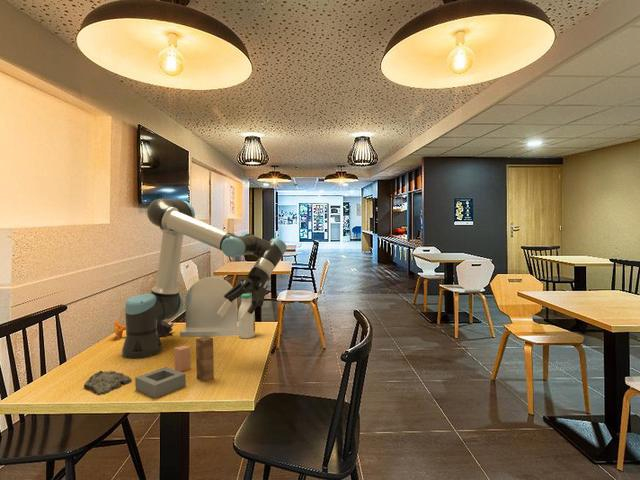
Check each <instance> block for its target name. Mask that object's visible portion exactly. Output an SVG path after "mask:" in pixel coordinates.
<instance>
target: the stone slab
mask: <svg viewBox="0 0 640 480" xmlns="http://www.w3.org/2000/svg"><path fill="white" fill-rule="evenodd" d="M132 381H133V380H132V378H130V376H129V375H125V373H122V372H117V371H114V370H109V371H105V370H104V371H102V370H99V371H97V372H95V373H93V374H92V375H91V376H90V377H89V378H88V379H87V380H86V381H85V383H84V384H83V387H84V389H86V388H87V390H90V391H91V390H92V392H94V394H96V396H102V395H101V394H103V395H107V394H109V393H110V392H111V391H115V390H117V389H119V388H121V387H122V385H123V386H126V385H128V384H130V383H131V382H132ZM114 389H115V390H114ZM106 393H107V394H106Z"/></svg>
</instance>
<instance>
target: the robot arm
mask: <svg viewBox="0 0 640 480" xmlns="http://www.w3.org/2000/svg"><path fill="white" fill-rule="evenodd" d="M194 209H195V208H194V207H193V206H192V204H191V203H189V202H188V201H187V200H183V199H178V198H177V199H176V198H157V199H154V200H153V201H151V202H150V203H149V205H148V206H147V211H146V214H147V215H146V216H147V218H148V220H149V222H150V223H152V224H153V225H154V226H156V227H159V230H160V231H161V232H162V235H161V245H160V252H159V260H158V267H157V274H156V282H155V285H154V286H153V287H152V288H151V292H150V293H142V294H137V295H134V296H131V297H129V298H128V299H127V300H126V301H125V309H124V313H125V326H126V330H125V332H126V335H125V340H124V343H123V345H122V349H121V355H122V357H124V358H127V359H141V358H148V357H152V356H154V355H155V356H156V355H157V354H160V353H161V352H162V351H163V344H162V341H161V339H160V337H159V336H158V333H157V322H160V321H165V320H169V319H172V318H173V317H176V316H177V315H178V314H179V313H180V312H181V310H182V308H183V305H184V303H183V302H184V301H183V298H182V295H181V294H180V289H179V288H178V287H177V285H178V279H179V278H178V277H179V272H180V271H179V270H180V263H181V257H182V256H181V255H182V249H183V240H184V236H186V237H189V238H191V239H193V240H195V241H198V242H201V243H203V244H206V245H208V246H210V247H212V248H215V249H216V250H219V251H221V252H222V253H223V254H224V255H225V256H226V257H228V258H238V257H242V256H249V255H252V256H255V257H256V258H258V259H257V260H256V262H255V264H254V265H253V267H252V268H251V269H250V271H249V272H248V274H247V277H248V278H247V279H245V280H244V279H243V278H241V279H240V280H239V282H238V283H237V284H235V285H234V286H232V287H233V288H232V289H231V290H230V291H229V292H227V293H226V294H225V295H224V297H225V298H226V300H225V302H224V303H223V304H222V307H221V308H220V309H219V311H218V312H217V314H219V315H220V316H221V317H223V316H224V315H225V313H226V312H227V310H228V309H229V307H230V306H231V304H232V301H233V300H235V299H236V298H237V299H238V298H239V297H241V295H242V294H251V303H250V304H249V305H248V307H247V308H246V310H245V311H244V313H243V314H242V316H241V318H240V319H241V320H243V321H244V322H245V323H246V322H247V320H248V319H249V317H250V315H251V314H252V313H253V312H254V311H255V310H256V308H258V307H262V306H263V305H264V300H265V295H266V290H267V289H268V287H269V285H268V284H267V281H268V280H269V279H270V278H269V277H271V275H272V273H273V272H274V270H275V269H276V268H277V265H278V264H279V263H280V261H281V260H282V258H283V257H284V255H285V253H286V251H287V249H288V248H287V244H286V243H285V241H283V240H282V239H280V238H276V237H273V238H271V239H270V240H269V241H268V240H266V239H264V238H260V237H258V236H256V235H254V234H252V233H248V232H245V231H243V232H242V233H241V234H239V235H236V234H233V233H232V232H231V233H230V231H226V230H223V229H221V228H219V227H216V226H214V225H212V224H210V223H207V222H204V221H202V220H200V219H198V218H196V217H195V216H196V212H195V210H194Z"/></svg>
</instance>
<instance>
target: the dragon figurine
mask: <svg viewBox="0 0 640 480" xmlns="http://www.w3.org/2000/svg"><path fill="white" fill-rule="evenodd" d="M175 323H176V320H174V321H173V322H172V323H170V324H169V322H167V321H165V320H163V321H160V322H157V333H158V336H159V338H160V337H162V336H167V335H168V334H169V333H170V332H172V331H173V327H174V325H175ZM113 325H114V326H113V327H114V334H115V336H116V337H117V339H118V340H120V339H121V338H122V337H123V333H124V331H126V325H123V326H122V324H120V323H119V322H118V320H115V321H114V322H113Z"/></svg>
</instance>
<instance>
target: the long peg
mask: <svg viewBox="0 0 640 480" xmlns="http://www.w3.org/2000/svg"><path fill="white" fill-rule="evenodd" d="M195 350H196V351H195V356H196V358H195V359H196V380H198V381H201V382H204V383H205V382H207V381H209V380H211V379H214V378H215V374H214V373H215V372H214V371H215V369H214V367H215V365H214V363H215V362H214V338H213V337H212V336H200V337H198V338H196V339H195Z"/></svg>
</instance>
